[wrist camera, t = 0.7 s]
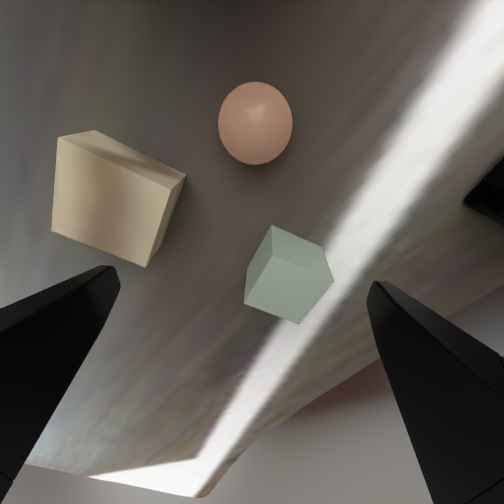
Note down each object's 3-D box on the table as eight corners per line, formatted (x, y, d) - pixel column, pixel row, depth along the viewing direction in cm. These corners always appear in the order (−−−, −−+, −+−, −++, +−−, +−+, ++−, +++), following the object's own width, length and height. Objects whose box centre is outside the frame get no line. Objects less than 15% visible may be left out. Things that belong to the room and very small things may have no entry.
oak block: (187, 174, 20) (171, 189, 16) (162, 242, 23) (145, 267, 20) (96, 129, 18) (58, 137, 15) (84, 209, 22) (51, 230, 18)
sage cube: (321, 246, 22) (334, 281, 18) (293, 285, 25) (298, 324, 21) (271, 224, 21) (272, 255, 17) (247, 266, 24) (243, 303, 20)
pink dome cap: (300, 104, 17) (306, 105, 14) (270, 165, 19) (271, 176, 16) (240, 70, 16) (235, 65, 13) (216, 138, 18) (208, 145, 16)
